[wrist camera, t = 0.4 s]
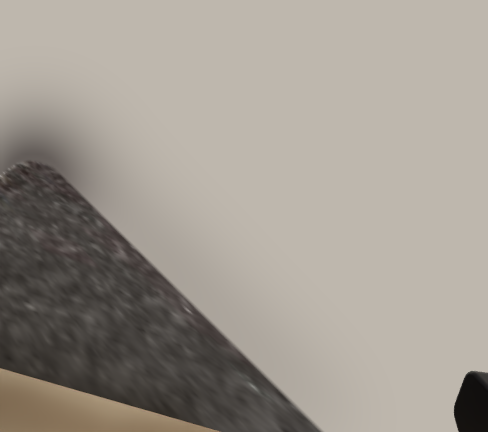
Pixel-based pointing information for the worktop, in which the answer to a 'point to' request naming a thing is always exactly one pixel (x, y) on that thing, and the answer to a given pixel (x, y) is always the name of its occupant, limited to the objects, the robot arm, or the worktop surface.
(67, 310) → the worktop surface
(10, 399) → the socket block
